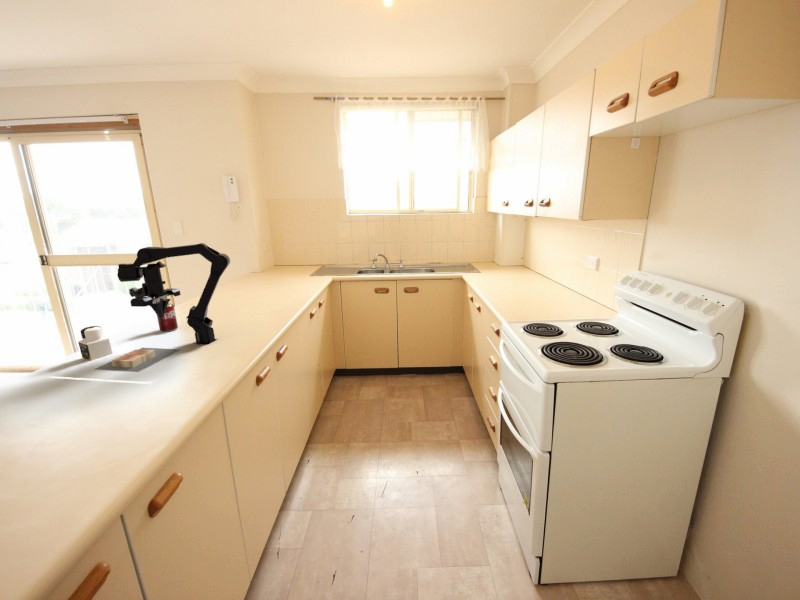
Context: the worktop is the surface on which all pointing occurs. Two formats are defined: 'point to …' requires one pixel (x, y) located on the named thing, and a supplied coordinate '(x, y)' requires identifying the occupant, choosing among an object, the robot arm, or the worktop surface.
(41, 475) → the worktop surface
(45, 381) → the worktop surface
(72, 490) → the worktop surface
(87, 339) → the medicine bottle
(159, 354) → the mat
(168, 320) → the soda can
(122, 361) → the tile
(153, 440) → the worktop surface
